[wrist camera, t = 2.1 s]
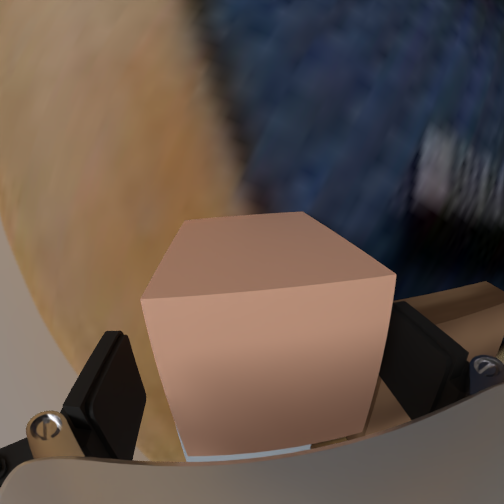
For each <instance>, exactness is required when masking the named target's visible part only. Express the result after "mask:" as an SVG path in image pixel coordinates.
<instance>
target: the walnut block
mask: <svg viewBox="0 0 504 504" xmlns="http://www.w3.org/2000/svg"><path fill="white" fill-rule="evenodd" d="M399 301H406V302H407V303H408V304H410V305H411V306H412V307H413V308H415V309H416V310H417V311H419V312H420V313H421V314H422V315H424V316H425V317H426V318H427V319H429V320H430V321H431V322H432V323H434V324H435V325H436V326H437V327H439V328H440V329H441V330H442V331H444V332H445V333H446V334H447V335H448V336H450V337H451V338H452V339H453V340H455V341H456V342H457V343H458V344H459V345H461V346H462V347H463V348H464V349H465V350H467V351H468V352H469V355H468V358H467V361H468V362H469V363H470V361H471V359H472V358H473V357H475V356H478V355H489V356H493V357H495V358H496V355H497V353H498V350H499V347H500V345H501V342H502V339H503V336H504V291H502V290H500V289H499V288H497V287H495V286H494V285H492V284H490V283H488V282H487V281H484V282H480V283H476V284H472V285H468V286H463V287H459V288H455V289H450V290H446V291H441V292H436V293H432V294H427V295H422V296H417V297H412V298H406V299H401V300H396V301H393V303H394V302H399ZM408 421H411V419H410V417H409V416H408V415H407V413H406V412H405V411H404V409H403V408H402V406H401V405H400V404H399V402H398V401H397V399H396V398H395V397H394V395H393V394H392V392H391V391H390V390H389V388H388V387H387V386H386V384H385V383H384V382H383V380H382V379H381V377H380V376H379V375H378V379H377V383H376V387H375V391H374V394H373V398H372V402H371V405H370V409H369V412H368V415H367V419H366V422H365V425H364V428H363V431H362V432H360V433H357V434H353V435H349V436H346V438H347V440H352V439H355V438H359V437H363V436H366V435H369V434H373V433H376V432H379V431H382V430H385V429H388V428H391V427H394V426H397V425H400V424H403V423H406V422H408Z"/></svg>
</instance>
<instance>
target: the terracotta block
mask: <svg viewBox="0 0 504 504" xmlns="http://www.w3.org/2000/svg"><path fill="white" fill-rule="evenodd" d="M395 282H396V274H395V273H394V272H392V271H391V270H390V269H388V268H387V267H385V266H384V265H382V264H381V263H380V262H378V261H377V260H375V259H374V258H372V257H371V256H370V255H368V254H367V253H365V252H364V251H362V250H361V249H359V248H358V247H356V246H355V245H353V244H352V243H350V242H349V241H347V240H346V239H344V238H343V237H341V236H340V235H338V234H337V233H335V232H334V231H332V230H331V229H329V228H328V227H326V226H324V225H323V224H321V223H320V222H318V221H317V220H315V219H314V218H312V217H310V216H309V215H307V214H306V213H304V212H287V213H271V214H257V215H243V216H230V217H217V218H205V219H194V220H185V221H184V223H183V224H182V226H181V228H180V229H179V231H178V233H177V234H176V236H175V238H174V239H173V241H172V243H171V245H170V246H169V248H168V250H167V252H166V253H165V255H164V257H163V259H162V260H161V262H160V264H159V266H158V268H157V269H156V271H155V273H154V275H153V277H152V278H151V280H150V282H149V284H148V286H147V288H146V290H145V291H144V293H143V295H142V297H141V299H140V300H141V305H142V309H143V314H144V318H145V322H146V326H147V330H148V334H149V338H150V342H151V346H152V350H153V353H154V357H155V361H156V364H157V368H158V371H159V375H160V378H161V381H162V384H163V388H164V391H165V394H166V397H167V400H168V403H169V406H170V409H171V412H172V415H173V418H174V421H175V424H176V426H177V429H178V432H179V435H180V437H181V440H182V443H183V445H184V448H185V450H186V453H187V455H188V456H219V455H235V454H246V453H256V452H265V451H273V450H280V449H286V448H293V447H298V446H304V445H309V444H314V443H319V442H324V441H329V440H333V439H337V438H341V437H345V436H349V435H353V434H357V433H360V432H362V431H363V428H364V425H365V422H366V419H367V415H368V412H369V409H370V405H371V402H372V398H373V394H374V391H375V387H376V383H377V379H378V375H379V371H380V366H381V362H382V357H383V353H384V348H385V343H386V338H387V333H388V328H389V322H390V316H391V310H392V304H393V297H394V290H395Z"/></svg>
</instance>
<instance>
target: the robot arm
mask: <svg viewBox="0 0 504 504" xmlns="http://www.w3.org/2000/svg"><path fill="white" fill-rule="evenodd" d="M468 355H469V352H468V351H467V350H465V349H464V348H463V347H462V346H461V345H459V344H458V343H457V342H456V341H455V340H453V339H452V338H451V337H450V336H448V335H447V334H446V333H445V332H444V331H442V330H441V329H440V328H439V327H437V326H436V325H435V324H434V323H432V322H431V321H430V320H429V319H427V318H426V317H425V316H424V315H422V314H421V313H420V312H419V311H417V310H416V309H415V308H413V307H412V306H411V305H410V304H408V303H407V302H406V301H399V302H394V303H393V304H392V310H391V316H390V322H389V328H388V333H387V338H386V343H385V348H384V353H383V357H382V362H381V366H380V371H379V376H380V377H381V379H382V380H383V382H384V383H385V384H386V386H387V387H388V388H389V390H390V391H391V392H392V394H393V395H394V397H395V398H396V399H397V401H398V402H399V404H400V405H401V406H402V408H403V409H404V411H405V412H406V413H407V415H408V416H409V417H410V419H411V421H408V422H406V423H403V424H400V425H397V426H394V427H391V428H388V429H385V430H382V431H379V432H376V433H373V434H369V435H366V436H363V437H359V438H355V439H352V440H348V441H344V442H340V443H336V444H332V445H328V446H323V447H319V448H314V449H309V450H304V451H298V452H293V453H287V454H280V455H274V456H266V457H258V458H249V459H239V460H227V461H209V462H152V461H133V460H132V459H133V455H134V450H135V445H136V441H137V437H138V432H139V428H140V424H141V420H142V416H143V411H144V407H145V403H146V393H145V389H144V386H143V384H142V381H141V377H140V374H139V371H138V368H137V365H136V362H135V358H134V355H133V352H132V348H131V345H130V341H129V338H128V336H127V335H124V334H123V332H122V331H106V332H105V333H104V335H103V336H102V338H101V339H100V341H99V343H98V344H97V346H96V348H95V349H94V351H93V353H92V354H91V356H90V358H89V359H88V361H87V363H86V365H85V366H84V368H83V370H82V371H81V373H80V375H79V377H78V378H77V380H76V382H75V384H74V386H73V387H72V389H71V391H70V393H69V395H68V397H67V398H66V400H65V402H64V404H63V408H62V410H61V412H60V413H59V412H56V411H44V412H40V413H38V414H36V415H35V416H33V417H32V418H31V419H30V421H29V422H28V423H27V426H26V435H27V438H24V439H22V440H20V441H18V442H15V443H13V444H10V445H8V446H6V447H3V448H1V449H0V504H504V365H503V363H502V362H501V361H500V360H498V359H497V358H495V357H493V356H489V355H478V356H475V357H473V358H472V359H471V361H470V363H469V362H468V361H467V358H468Z"/></svg>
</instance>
